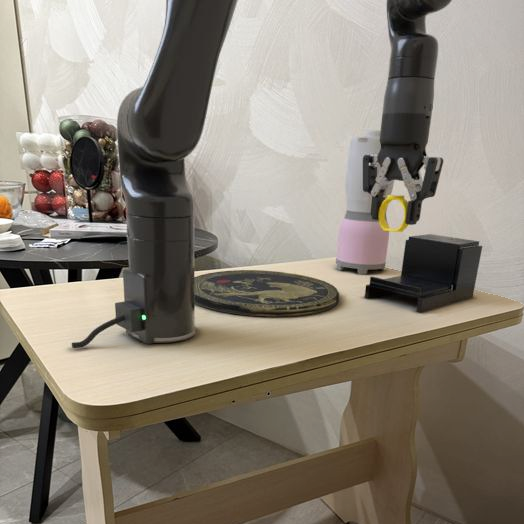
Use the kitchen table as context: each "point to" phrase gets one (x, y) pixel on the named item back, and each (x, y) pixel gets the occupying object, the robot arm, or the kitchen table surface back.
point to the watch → (384, 205)
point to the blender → (361, 213)
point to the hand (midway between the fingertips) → (393, 221)
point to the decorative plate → (264, 293)
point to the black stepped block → (433, 271)
